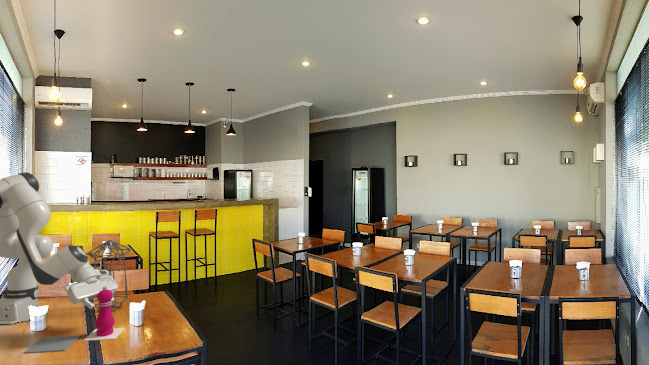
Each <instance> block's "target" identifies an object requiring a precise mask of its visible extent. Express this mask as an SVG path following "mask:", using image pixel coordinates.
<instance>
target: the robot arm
mask: <svg viewBox="0 0 649 365" xmlns="http://www.w3.org/2000/svg"><path fill="white" fill-rule="evenodd" d="M39 189H40V184H39V181H38V178H36V177H35V175H33V174H32V173H30V172H20V173H18V174H14V175H10V176H6V177H3V178H1V179H0V258H5V259H19V261H18V264H17V265H16V266H15V267H13V268H11V269H10V270H9V271H8V273H7V288H6V289H4V290H3V291H1V292H0V295H1V296H2V295H3V296H2V298H0V324H11V325H15V324H14V323H16V324H18V323H17V322H19V323H22V321H23V322H27V321H30V320H29V309H28V306H30V305H32V306H36V307H38V306H39V307H40V305H39V285H42V286H44V285H45V286H52V285H54V284H55V283H56V282H58V281H60V279H62V278H63V277H65V276H66V275H68V274H69V275H70V277H71V280H72V282H68V283H67V284H65V285H64V291H65V292H66V293H67V296H68V299H69V301H70V302H71V303H72V304H73V305H77V304H81V303H82V304H83V305H84V306H86V307H88V309H89V310H93V309H94V308H96V306H95V305H94V304H95V302H94V303H91V302H92V299H94V300H95V299H97V294H98V293H99V292H100V291H102V290H103V287H104V286H107V290H111V291H112V292H113V294H114V292H115V293H116V291H117V290H118V289H119V285H118V283H117V282H116V280H114V279H115V278H114V279H113V276H112V275H111V276H110V275H109V271H107V270H108V269H107V270H106V269H104V270H98V269H99V268H96V269H94V266H92V265H91V264H90V261H89V259H88V258H89V257H88V254H87V255H86V253H87V252H85V250H84V249H83V248H82V247H80V246H79V245H73V244H71V245H67V246H64V247H63V248H61V249H59V250H58V251H57V252H56V253H55V252H54V254H51V252H52V251H53V249H54V241H53V239H52V238H51V237H50V236H47V235H43V234H40V233H41V231H42V230H43V229H44V227H46V226H47V224H48V223H49V221H50V219H51V214H52V211H51V209H50V206H49V205H48V204H47V202H46V201H45V200H44V198H43V197H42V195H40V193H39ZM50 254H51V255H50ZM49 255H50V256H49ZM48 256H49V257H48ZM46 257H47V258H46ZM38 284H39V285H38ZM90 300H91V301H90ZM111 301H112V302H115V299H114V297H113V298H112V299H111Z"/></svg>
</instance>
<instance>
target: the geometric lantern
mask: <svg viewBox="0 0 649 365" xmlns="http://www.w3.org/2000/svg"><path fill="white" fill-rule="evenodd" d="M120 246H121V247H123V248H121V247H120ZM106 249H108V250H110V254H104V253H105V251H106ZM126 250H127V251H126ZM132 250H133V248H132V247H128V246H127V245H123V244H121V243H118V242H116V241H114V240H112V239H110V240H109V239H108V240H107V241H106V240H105V242H103V243H101V244H100V245H98V246H97V247H94V248H93V249H91V250H90V251H88V252H85V253H86V255H87V256H89V257H91V259H93V260H94V264H93V268H94V269H98V270H107V271H108V272H109V274H108V275H110V276H111V277H112V278H113V279H114V280H115V270H118V269H120V268H124V270H123V271H124V289H125V296H124V295H116V291H115V292H114V293H113V297H114V299H115V300H114V302H112V304H111V313H112V314H113V313H115V312H116V311H118V310H120V309H122V308H123V303H124V302H126V301H128V300H129V291H128V280H127V271H126V269H127V267H126V266H127V265H126V261H125V258H126V256H128V254H130V253H131V251H132ZM115 251H116V252H115ZM119 251H120V252H121V253H120V252H119ZM101 252H102V253H101ZM112 256H113V259H112V260H111V261H110V262H109V263H108V261H107V259H108V258H110V257H112ZM104 257H105V258H104ZM98 258H99V260H98ZM115 258H116V259H118V261H117V263H115V266H114V267H113V269H112V264H113V261H114V260H115ZM121 260H123V261H122V262H123V263H121V264H120V263H119V262H120V261H121ZM104 261H105V262H104ZM96 262H97V264H96ZM99 262H102V263H103V264H102V265H101V264H100V265H99V266H98V264H99ZM108 265H109V267H108ZM117 265H121V266H119V267H116V266H117ZM103 266H104V267H105V268H104V269H102V268H100V267H103ZM115 281H116V280H115ZM117 298H123V300H121V301H118V302H117ZM90 302H91V303H94V305H95V308H97V312H98V313H99V309H100V308H99V306H98V303H96V302H99V301H98V300H97V299H96V300H95V298H94V299H91V301H90ZM115 308H117V309H115Z"/></svg>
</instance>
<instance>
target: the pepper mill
mask: <svg viewBox="0 0 649 365" xmlns="http://www.w3.org/2000/svg"><path fill="white" fill-rule="evenodd" d="M113 296H114V293H113V292H112V291H111V290H107V286H104V287H103V290H102V291H100V292H99V293H98V294H97V298H96V300H98V301H97V302H98V303H97V304H98V305H97V307H99V312H98V314H97V317H96V320H95V323H94V326H95V329H98V330H97V331H96V335H97V336H108V335H111V334H112V333H113V328H114V326H115V322H116V321H115V317H114V315H113V312H112V313H111V308H112V307H111V305H113V303H112V301H111V299H112V298H113Z"/></svg>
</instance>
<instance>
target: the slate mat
mask: <svg viewBox="0 0 649 365" xmlns="http://www.w3.org/2000/svg"><path fill="white" fill-rule="evenodd" d="M79 338H81V335H67V336H49V337H47V336H46V337H41V339H39V340H38V341H37V342H35V343H34V344H32V345H31V346H29V347H28V348H27V349H26V350H24V351H23V352H22V354H23V353H24V354H36V353H38V352H39V353H50V352H52V353H53V352H65V351H67V350H68V349H69V348H70V347H71V346H72V345H73V344H74V343H75V342H76V341H77V340H79Z"/></svg>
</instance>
